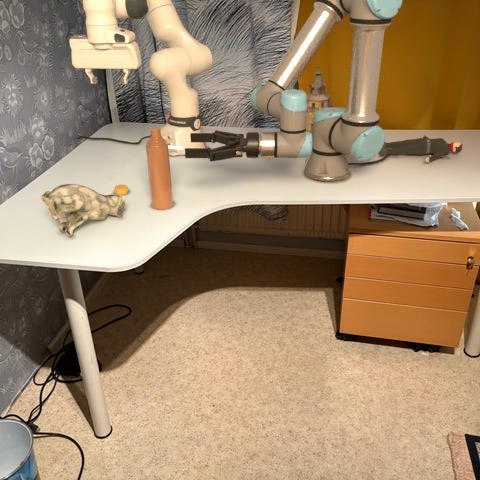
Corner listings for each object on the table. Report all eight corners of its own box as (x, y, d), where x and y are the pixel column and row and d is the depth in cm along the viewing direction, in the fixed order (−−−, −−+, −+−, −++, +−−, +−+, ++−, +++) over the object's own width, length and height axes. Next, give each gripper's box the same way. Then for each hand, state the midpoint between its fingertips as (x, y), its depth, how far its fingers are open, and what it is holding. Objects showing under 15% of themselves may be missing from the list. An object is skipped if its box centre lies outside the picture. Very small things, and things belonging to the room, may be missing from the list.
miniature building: (320, 132, 228) (325, 59, 214) (338, 142, 217) (344, 66, 203) (293, 137, 224) (296, 63, 209) (310, 147, 213) (314, 69, 198)
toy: (379, 128, 216) (458, 128, 210) (378, 143, 219) (456, 144, 213) (380, 150, 194) (469, 151, 187) (379, 166, 197) (466, 168, 190)
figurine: (85, 253, 150) (138, 211, 159) (47, 199, 141) (105, 158, 150) (72, 248, 157) (123, 208, 166) (34, 197, 148) (90, 157, 157)
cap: (115, 195, 176) (114, 190, 175) (114, 190, 179) (114, 185, 178) (128, 193, 177) (127, 188, 176) (127, 189, 180) (126, 183, 179)
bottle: (167, 198, 173) (160, 123, 161) (176, 205, 168) (170, 129, 156) (148, 203, 170) (140, 127, 158) (157, 211, 165) (149, 133, 153)
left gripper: (64, 36, 152) (72, 85, 159) (134, 36, 150) (139, 86, 156) (72, 32, 157) (80, 80, 164) (140, 33, 155) (145, 81, 162)
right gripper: (259, 173, 149) (183, 173, 150) (259, 143, 171) (193, 143, 172) (259, 147, 146) (181, 147, 146) (259, 120, 167) (192, 120, 168)
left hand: (109, 83), depth 160 cm, fingers open, 8 cm apart
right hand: (187, 145), depth 159 cm, fingers open, 13 cm apart
